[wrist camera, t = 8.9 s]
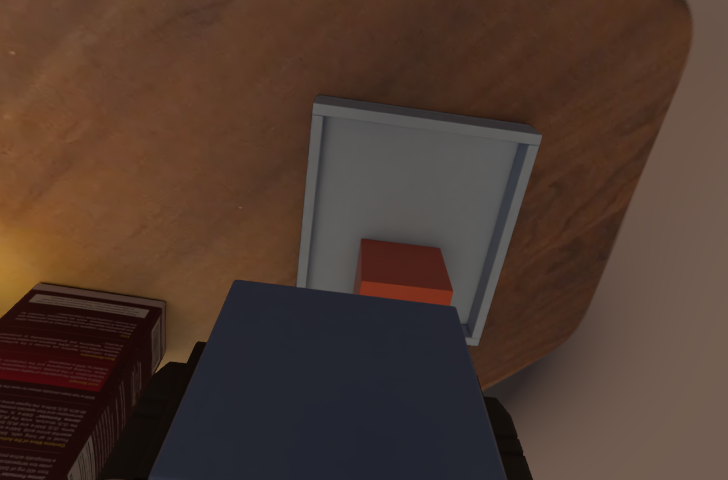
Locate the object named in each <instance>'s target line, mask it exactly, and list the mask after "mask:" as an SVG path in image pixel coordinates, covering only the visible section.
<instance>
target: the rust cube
mask: <svg viewBox="0 0 728 480" xmlns="http://www.w3.org/2000/svg"><path fill="white" fill-rule="evenodd" d="M353 294H358V295H366V296H375V297H383V298H391V299H399V300H407V301H416V302H424V303H432V304H440V305H448V306H450V303H451V299H452V295H453V289H452V285H451V282H450V279H449V275H448V272H447V269H446V266H445V262H444V259H443V256H442V252H441V249H440V248H435V247H426V246H418V245H410V244H402V243H394V242H386V241H378V240H369V239H361V243H360V249H359V256H358V262H357V269H356V275H355V282H354V288H353Z"/></svg>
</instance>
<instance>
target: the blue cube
mask: <svg viewBox="0 0 728 480" xmlns="http://www.w3.org/2000/svg"><path fill="white" fill-rule="evenodd" d="M148 480H507V478H506V474H505V471H504V467H503V464H502V461H501V457H500V454H499V450H498V447H497V444H496V440H495V437H494V434H493V430H492V427H491V423H490V420H489V417H488V413H487V410H486V407H485V403H484V400H483V396H482V393H481V390H480V386H479V383H478V379H477V376H476V373H475V369H474V366H473V363H472V359H471V356H470V352H469V349H468V346H467V342H466V339H465V335H464V332H463V329H462V325H461V322H460V319H459V315H458V312H457V308H456V307H454V306H448V305H440V304H432V303H424V302H416V301H407V300H399V299H391V298H383V297H375V296H366V295H358V294H350V293H342V292H334V291H325V290H317V289H309V288H301V287H293V286H284V285H276V284H268V283H260V282H252V281H243V280H235V281H234V282H233V284H232V286H231V288H230V291H229V293H228V295H227V297H226V300H225V302H224V304H223V307H222V309H221V311H220V314H219V316H218V318H217V320H216V323H215V325H214V327H213V330H212V332H211V334H210V337H209V339H208V341H207V344H206V346H205V348H204V350H203V353H202V355H201V357H200V360H199V362H198V364H197V367H196V369H195V371H194V373H193V376H192V378H191V380H190V383H189V385H188V387H187V390H186V392H185V394H184V396H183V399H182V401H181V403H180V406H179V408H178V410H177V413H176V415H175V417H174V419H173V422H172V424H171V426H170V429H169V431H168V433H167V436H166V438H165V440H164V442H163V445H162V447H161V449H160V452H159V454H158V456H157V459H156V461H155V463H154V465H153V468H152V470H151V472H150V475H149V477H148Z"/></svg>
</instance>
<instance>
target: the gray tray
mask: <svg viewBox="0 0 728 480" xmlns="http://www.w3.org/2000/svg"><path fill="white" fill-rule="evenodd" d="M541 139H542V134H540V133H539V132H538V131H537V130H535V129H534V128H533V127H531V126H530V125H528V124H521V123H514V122H507V121H500V120H493V119H486V118H479V117H472V116H464V115H457V114H450V113H443V112H436V111H429V110H422V109H415V108H408V107H401V106H394V105H387V104H380V103H373V102H366V101H359V100H351V99H344V98H337V97H330V96H323V95H317V96H316V98H315V100H314V103H313V110H312V121H311V132H310V143H309V154H308V165H307V176H306V186H305V197H304V208H303V219H302V230H301V240H300V251H299V262H298V273H297V284H296V287H301V288H309V289H317V290H325V291H334V292H342V293H350V294H353V288H354V282H355V275H356V269H357V262H358V256H359V249H360V243H361V239H369V240H378V241H386V242H394V243H402V244H410V245H418V246H426V247H435V248H440V249H441V252H442V256H443V259H444V262H445V266H446V269H447V272H448V275H449V279H450V282H451V285H452V289H453V295H452V299H451V303H450V306H454V307H456V308H457V312H458V315H459V319H460V322H461V325H462V329H463V332H464V335H465V339H466V342H467V345H474V346H478V344H479V340H480V337H481V334H482V331H483V327H484V324H485V321H486V318H487V314H488V311H489V308H490V305H491V301H492V298H493V295H494V292H495V288H496V285H497V282H498V279H499V275H500V272H501V269H502V265H503V262H504V259H505V256H506V252H507V249H508V246H509V243H510V239H511V236H512V233H513V230H514V226H515V223H516V220H517V217H518V213H519V210H520V207H521V204H522V200H523V197H524V194H525V190H526V187H527V184H528V181H529V177H530V174H531V171H532V168H533V164H534V161H535V158H536V155H537V151H538V148H539V145H540V142H541Z"/></svg>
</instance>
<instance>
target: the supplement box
mask: <svg viewBox="0 0 728 480" xmlns="http://www.w3.org/2000/svg"><path fill="white" fill-rule="evenodd" d="M164 354H165V302H163V301H156V300H149V299H143V298H136V297H128V296H122V295H115V294H108V293H102V292H95V291H88V290H81V289H75V288H67V287H61V286H54V285H48V284H37V285H36V286H35V287H33V288H32V289H31V290H30V291H29V292H28V293H27V294H26V295H25V296H24V297H23V298H22V299H21V300H20V301H19V302H17V303H16V304H15V305H14V306H13V307H12V308H11V309H10V310H9V311H8V312H7V313H6V314H5V315H4V316H3V317H2V318H0V480H96V478H97V477H98V475H99V473H100V472H101V470H102V468H103V466H104V464H105V462H106V460H107V459H108V457H109V455H110V453H111V451H112V449H113V447H114V446H115V444H116V442H117V440H118V438H119V436H120V434H121V433H122V431H123V429H124V427H125V425H126V423H127V421H128V419H129V418H130V416H131V415H132V414H133V410H134V408H135V406H136V405H137V403H138V401H139V399H141V395H142V393H143V392H144V390H145V388H146V386H147V384H148V382H149V380H150V379H151V377H152V376H153V375H154V374H155V372H156V370H157V368H158V366H159V364H160V362H161V360H162V358H163V356H164Z"/></svg>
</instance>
